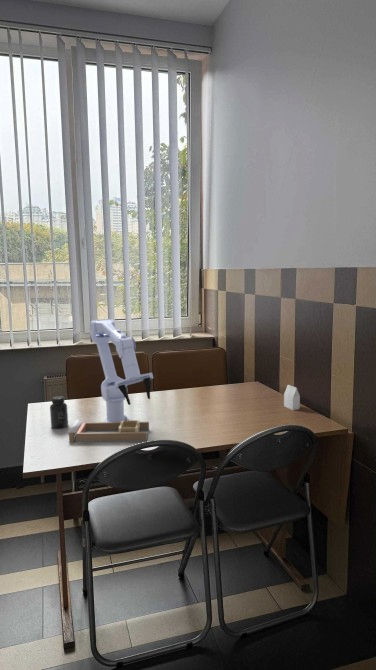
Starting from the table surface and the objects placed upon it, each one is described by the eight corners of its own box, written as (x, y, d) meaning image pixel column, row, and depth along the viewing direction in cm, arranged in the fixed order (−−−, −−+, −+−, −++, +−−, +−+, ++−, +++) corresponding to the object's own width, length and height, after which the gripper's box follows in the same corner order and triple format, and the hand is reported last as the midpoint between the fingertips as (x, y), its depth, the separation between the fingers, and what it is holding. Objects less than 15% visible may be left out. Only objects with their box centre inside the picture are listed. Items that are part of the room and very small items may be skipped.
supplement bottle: (69, 423, 200) (68, 395, 198) (66, 428, 193) (64, 399, 191) (53, 423, 200) (51, 395, 198) (49, 428, 193) (47, 400, 191)
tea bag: (292, 410, 215) (293, 388, 214) (283, 406, 221) (284, 385, 220) (299, 409, 217) (300, 387, 215) (290, 405, 223) (291, 384, 221)
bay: (75, 430, 191) (74, 418, 190) (149, 429, 191) (148, 417, 190) (67, 442, 178) (66, 430, 177) (146, 441, 178) (146, 429, 177)
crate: (121, 430, 189) (121, 420, 188) (139, 430, 189) (139, 420, 188) (118, 438, 180) (118, 428, 179) (137, 438, 180) (137, 428, 179)
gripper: (110, 370, 180) (118, 405, 176) (147, 359, 180) (156, 394, 176) (114, 374, 186) (122, 407, 182) (150, 364, 187) (158, 397, 183)
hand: (139, 401), depth 180 cm, fingers open, 7 cm apart
